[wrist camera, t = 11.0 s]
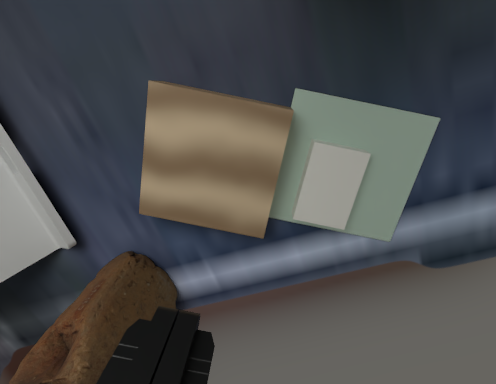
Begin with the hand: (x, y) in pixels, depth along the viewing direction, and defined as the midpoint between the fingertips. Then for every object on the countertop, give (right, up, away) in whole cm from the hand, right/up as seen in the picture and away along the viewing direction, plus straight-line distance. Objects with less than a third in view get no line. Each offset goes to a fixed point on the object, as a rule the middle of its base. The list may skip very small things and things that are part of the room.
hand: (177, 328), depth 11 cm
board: (-1, +9, +24) cm, 25 cm away
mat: (+14, +7, +23) cm, 28 cm away
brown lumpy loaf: (-11, -7, +30) cm, 33 cm away
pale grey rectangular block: (+12, +5, +22) cm, 25 cm away
